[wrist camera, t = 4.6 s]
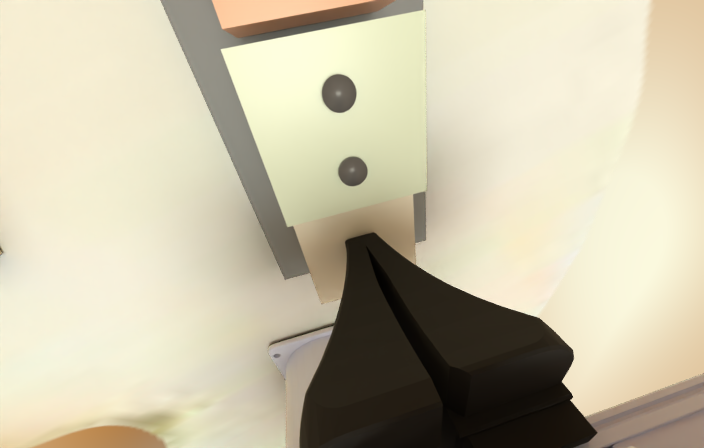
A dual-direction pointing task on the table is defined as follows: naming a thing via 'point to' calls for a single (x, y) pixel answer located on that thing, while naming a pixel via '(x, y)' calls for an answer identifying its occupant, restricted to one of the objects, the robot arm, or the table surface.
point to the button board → (225, 107)
